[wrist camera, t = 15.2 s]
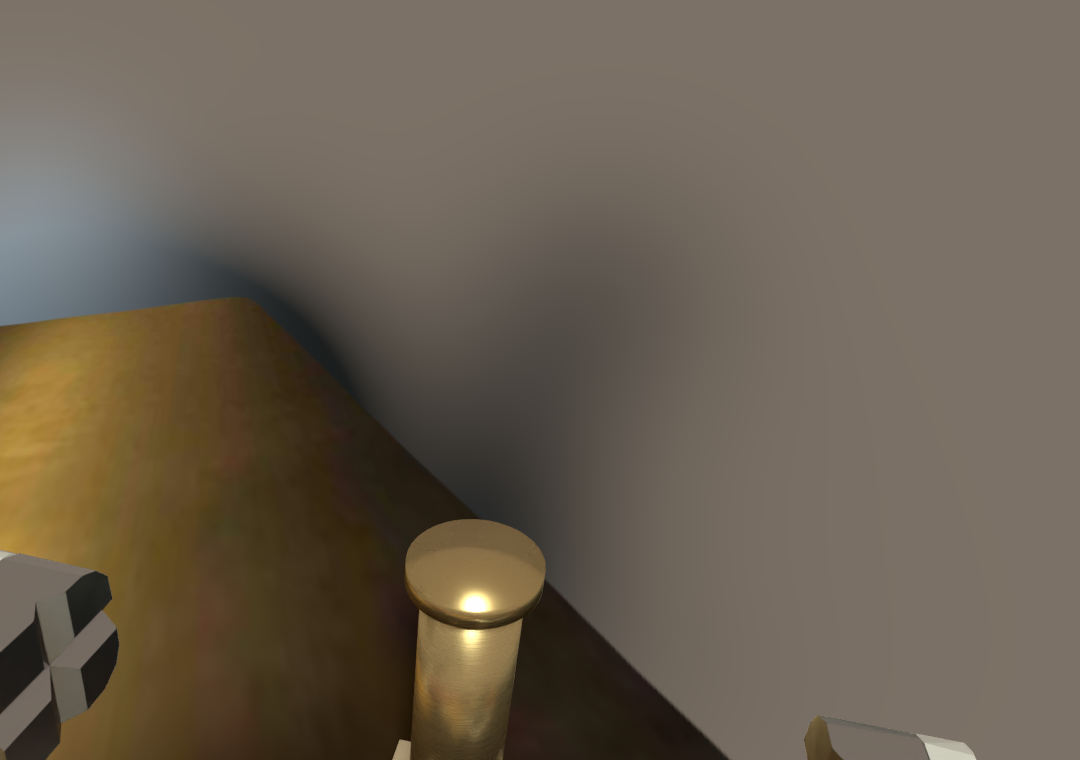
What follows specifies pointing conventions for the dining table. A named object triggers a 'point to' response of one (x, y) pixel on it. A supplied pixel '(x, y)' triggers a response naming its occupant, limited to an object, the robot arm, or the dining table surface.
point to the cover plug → (468, 634)
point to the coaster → (402, 750)
